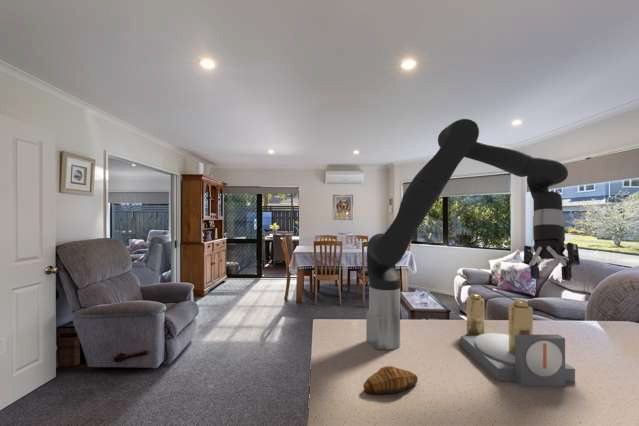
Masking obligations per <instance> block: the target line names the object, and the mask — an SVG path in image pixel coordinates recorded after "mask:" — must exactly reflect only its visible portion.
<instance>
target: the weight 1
mask: <svg viewBox="0 0 639 426" xmlns="http://www.w3.org/2000/svg"><path fill="white" fill-rule="evenodd" d="M481 334H485V299H484V298H482V295H480V294H478V293H470V296H466V336H479V335H481Z"/></svg>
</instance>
